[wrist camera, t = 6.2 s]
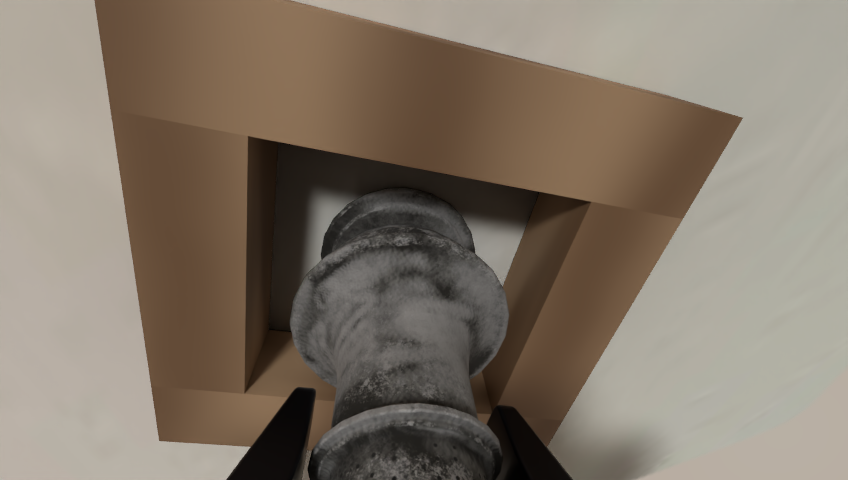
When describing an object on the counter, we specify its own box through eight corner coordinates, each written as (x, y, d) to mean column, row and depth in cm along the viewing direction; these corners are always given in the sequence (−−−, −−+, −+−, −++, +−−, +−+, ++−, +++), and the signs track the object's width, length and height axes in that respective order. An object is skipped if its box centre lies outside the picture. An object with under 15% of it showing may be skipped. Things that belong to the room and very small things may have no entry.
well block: (666, 95, 12) (742, 117, 10) (515, 401, 19) (536, 464, 16) (168, -31, 10) (87, -46, 7) (195, 372, 16) (159, 441, 14)
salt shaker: (313, 168, 12) (-167, 1160, 2) (500, 190, 13) (971, 945, 2) (311, 318, 15) (129, 1030, 4) (464, 328, 16) (611, 949, 5)
